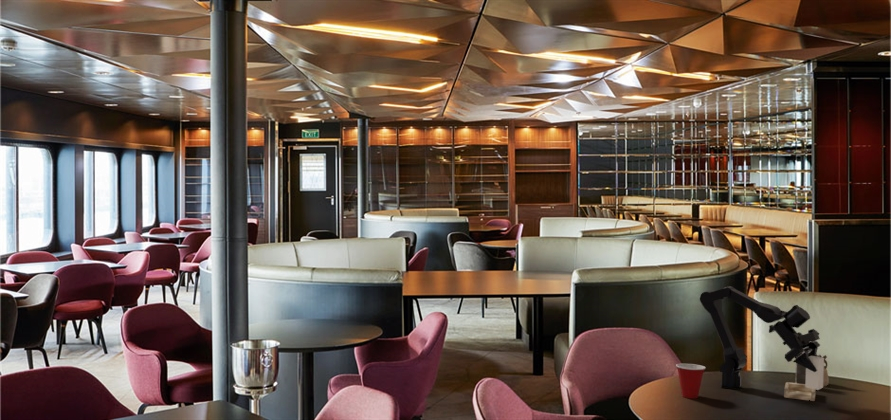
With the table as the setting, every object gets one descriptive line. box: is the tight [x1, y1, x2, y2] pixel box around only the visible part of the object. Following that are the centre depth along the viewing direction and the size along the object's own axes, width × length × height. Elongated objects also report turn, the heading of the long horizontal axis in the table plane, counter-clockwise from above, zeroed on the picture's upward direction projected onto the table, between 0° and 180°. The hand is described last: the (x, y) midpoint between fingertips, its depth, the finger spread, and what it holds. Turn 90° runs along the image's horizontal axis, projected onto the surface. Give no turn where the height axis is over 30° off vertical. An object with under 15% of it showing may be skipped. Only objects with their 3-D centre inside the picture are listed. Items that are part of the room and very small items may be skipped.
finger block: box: [805, 356, 825, 391], centre depth 279 cm, size 4×5×11 cm
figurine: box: [817, 353, 830, 387], centre depth 308 cm, size 7×7×12 cm
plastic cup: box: [675, 363, 706, 399], centre depth 289 cm, size 11×11×12 cm
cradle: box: [783, 363, 816, 402], centre depth 296 cm, size 10×22×11 cm, turn 153°
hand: (818, 370), depth 278 cm, fingers closed on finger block, 5 cm apart
